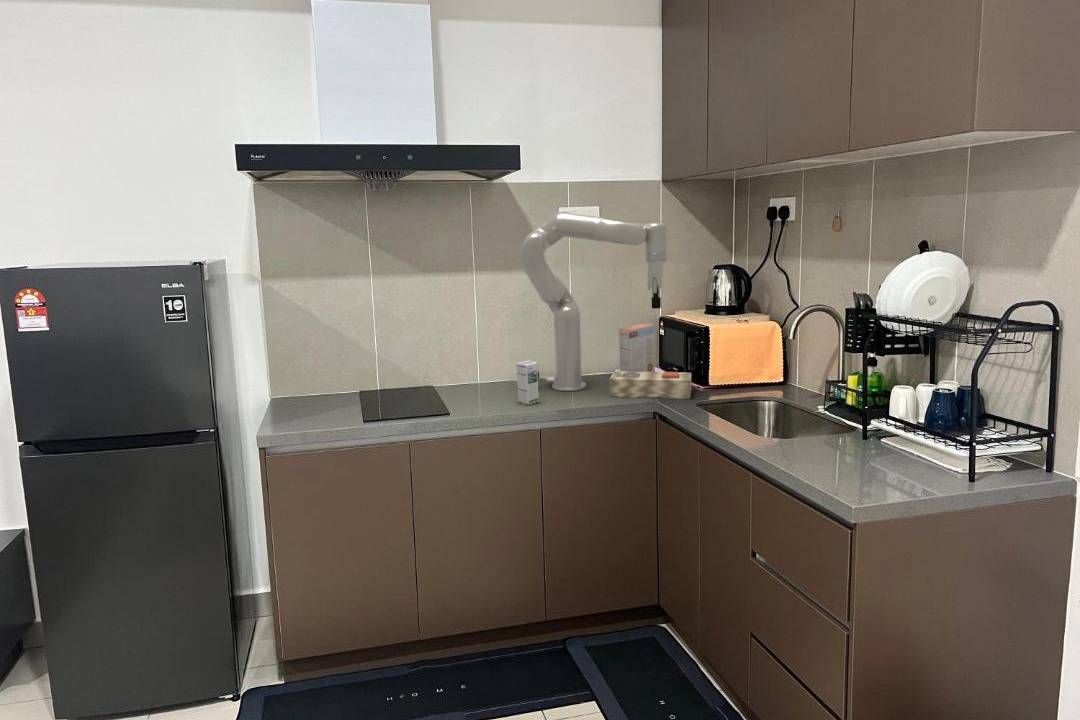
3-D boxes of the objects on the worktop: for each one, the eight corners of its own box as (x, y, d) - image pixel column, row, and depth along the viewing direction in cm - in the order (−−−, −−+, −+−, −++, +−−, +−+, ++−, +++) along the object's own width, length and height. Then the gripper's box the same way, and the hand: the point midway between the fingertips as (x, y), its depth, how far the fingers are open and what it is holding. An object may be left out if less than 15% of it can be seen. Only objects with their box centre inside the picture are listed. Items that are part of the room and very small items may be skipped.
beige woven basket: (609, 396, 280) (609, 379, 278) (614, 388, 291) (614, 371, 290) (689, 398, 273) (690, 380, 272) (691, 390, 285) (691, 372, 283)
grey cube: (623, 389, 281) (623, 377, 280) (625, 386, 286) (624, 373, 285) (637, 390, 280) (637, 377, 279) (639, 386, 285) (639, 373, 284)
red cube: (662, 388, 278) (662, 375, 277) (663, 384, 283) (663, 371, 282) (677, 388, 277) (677, 375, 276) (678, 384, 282) (678, 372, 281)
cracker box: (643, 375, 309) (643, 322, 305) (655, 377, 305) (655, 324, 300) (619, 381, 300) (618, 327, 296) (630, 384, 296) (629, 329, 292)
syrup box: (528, 405, 272) (526, 364, 269) (517, 402, 277) (516, 362, 274) (541, 402, 276) (539, 362, 273) (530, 399, 280) (528, 359, 277)
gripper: (647, 255, 291) (647, 305, 295) (643, 259, 277) (643, 311, 281) (668, 255, 289) (668, 305, 293) (665, 259, 275) (665, 311, 279)
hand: (656, 308), depth 287 cm, fingers closed
